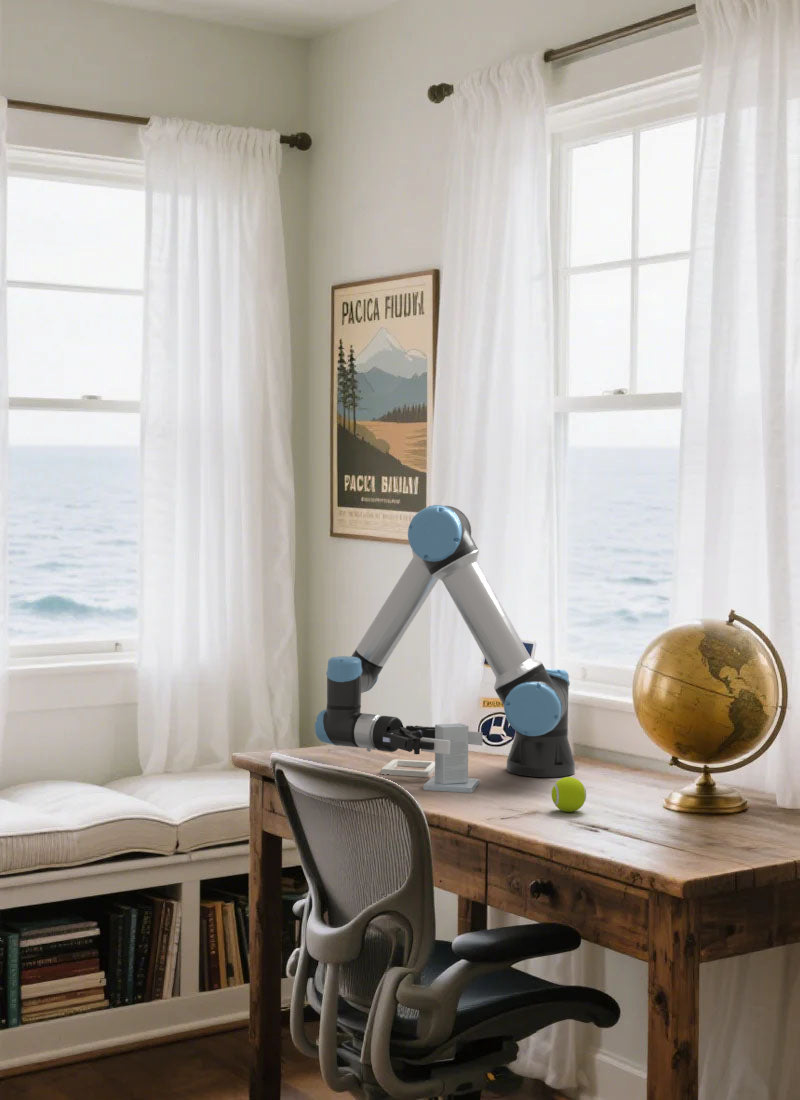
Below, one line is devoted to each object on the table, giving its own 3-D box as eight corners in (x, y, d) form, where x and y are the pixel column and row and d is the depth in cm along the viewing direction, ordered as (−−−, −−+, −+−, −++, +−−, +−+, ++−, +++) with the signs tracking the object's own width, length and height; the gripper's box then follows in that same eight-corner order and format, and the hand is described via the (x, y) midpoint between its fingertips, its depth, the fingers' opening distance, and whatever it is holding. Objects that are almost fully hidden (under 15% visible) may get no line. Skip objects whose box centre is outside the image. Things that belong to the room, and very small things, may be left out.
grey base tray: (438, 767, 315) (438, 761, 315) (428, 777, 303) (428, 771, 303) (393, 764, 318) (393, 759, 318) (380, 774, 305) (381, 768, 305)
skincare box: (459, 779, 296) (460, 722, 296) (468, 783, 292) (469, 726, 292) (433, 780, 294) (434, 724, 294) (441, 784, 290) (442, 727, 290)
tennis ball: (546, 808, 274) (547, 774, 274) (580, 807, 275) (580, 773, 275) (556, 815, 267) (557, 780, 267) (590, 815, 268) (591, 780, 268)
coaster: (479, 783, 297) (479, 779, 297) (471, 792, 287) (471, 788, 287) (432, 780, 299) (432, 776, 299) (423, 789, 289) (423, 785, 289)
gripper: (410, 742, 313) (494, 752, 302) (347, 758, 292) (434, 769, 281) (411, 709, 313) (494, 718, 302) (347, 722, 292) (435, 732, 281)
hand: (466, 743), depth 291 cm, fingers open, 13 cm apart
